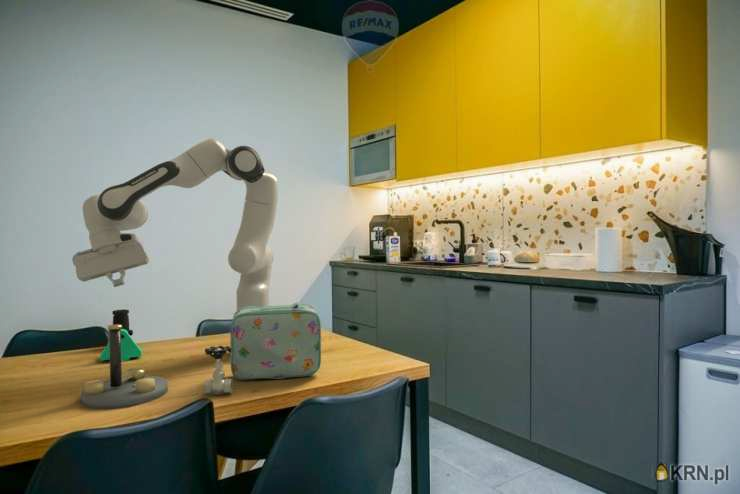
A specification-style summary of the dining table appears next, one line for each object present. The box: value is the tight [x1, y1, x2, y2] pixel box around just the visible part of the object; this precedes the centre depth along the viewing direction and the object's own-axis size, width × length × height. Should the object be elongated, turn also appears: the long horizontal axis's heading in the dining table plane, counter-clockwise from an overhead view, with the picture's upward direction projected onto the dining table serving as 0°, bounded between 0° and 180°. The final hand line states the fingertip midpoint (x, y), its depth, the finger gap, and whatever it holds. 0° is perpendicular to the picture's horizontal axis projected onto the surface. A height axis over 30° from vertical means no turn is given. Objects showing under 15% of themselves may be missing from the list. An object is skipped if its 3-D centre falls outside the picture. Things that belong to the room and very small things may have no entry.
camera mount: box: [99, 329, 143, 362], centre depth 160 cm, size 12×8×10 cm, turn 114°
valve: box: [203, 345, 234, 396], centre depth 122 cm, size 7×7×12 cm
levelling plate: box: [80, 375, 169, 410], centre depth 123 cm, size 20×20×4 cm
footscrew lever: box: [107, 324, 146, 387], centre depth 126 cm, size 12×4×16 cm, turn 171°
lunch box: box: [229, 301, 323, 381], centre depth 139 cm, size 27×10×21 cm, turn 102°
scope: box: [106, 309, 134, 346], centre depth 175 cm, size 8×14×10 cm
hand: (119, 285), depth 146 cm, fingers closed
